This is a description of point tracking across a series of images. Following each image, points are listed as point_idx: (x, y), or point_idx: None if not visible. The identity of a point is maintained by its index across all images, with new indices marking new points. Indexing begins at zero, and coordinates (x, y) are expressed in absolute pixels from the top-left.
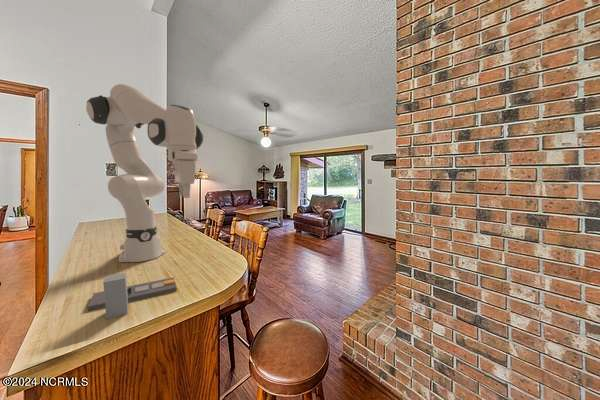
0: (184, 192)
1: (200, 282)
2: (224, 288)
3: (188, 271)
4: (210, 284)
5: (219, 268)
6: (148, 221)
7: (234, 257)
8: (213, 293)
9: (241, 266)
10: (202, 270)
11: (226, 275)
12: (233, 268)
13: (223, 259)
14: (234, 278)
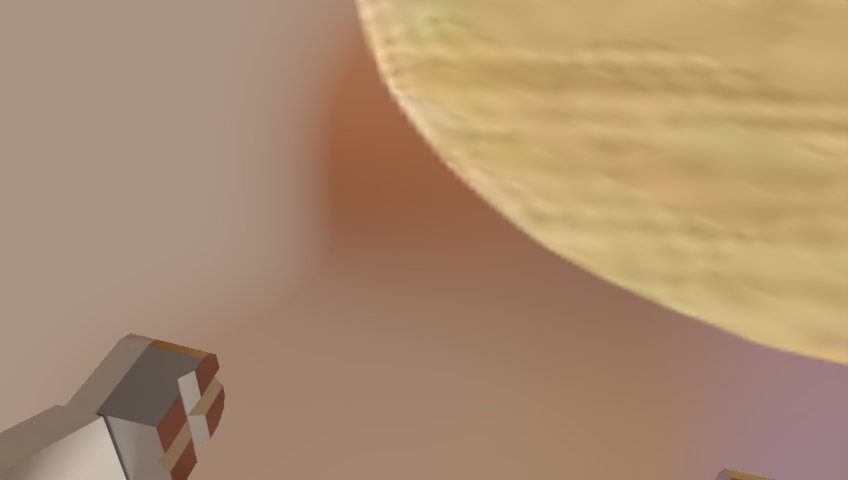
0: (56, 414)
1: (561, 13)
2: (394, 90)
3: (835, 6)
4: (490, 51)
5: (696, 185)
6: None
7: (809, 328)
8: (369, 23)
9: (619, 281)
10: (759, 92)
11: (552, 167)
12: (625, 239)
13: (842, 270)
14: (482, 179)
